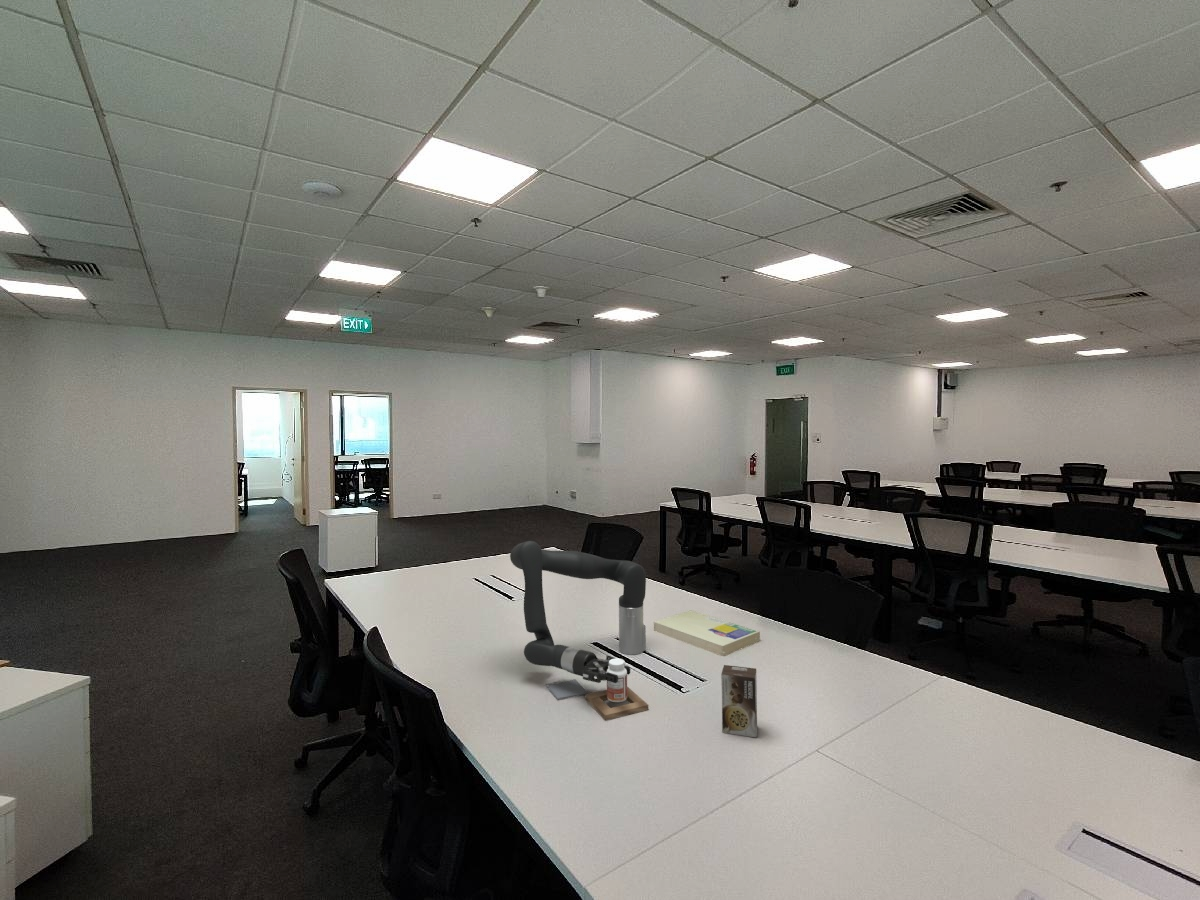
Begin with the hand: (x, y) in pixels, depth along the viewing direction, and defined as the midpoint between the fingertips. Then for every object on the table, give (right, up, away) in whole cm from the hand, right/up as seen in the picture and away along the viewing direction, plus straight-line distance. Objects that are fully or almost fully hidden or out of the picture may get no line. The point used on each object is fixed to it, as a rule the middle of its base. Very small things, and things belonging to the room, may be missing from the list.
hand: (623, 675), depth 158 cm
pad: (-18, -9, +11) cm, 22 cm away
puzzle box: (+36, -9, +58) cm, 69 cm away
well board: (-2, -9, +1) cm, 10 cm away
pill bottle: (-2, -8, +2) cm, 8 cm away
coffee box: (+31, -10, -13) cm, 35 cm away
